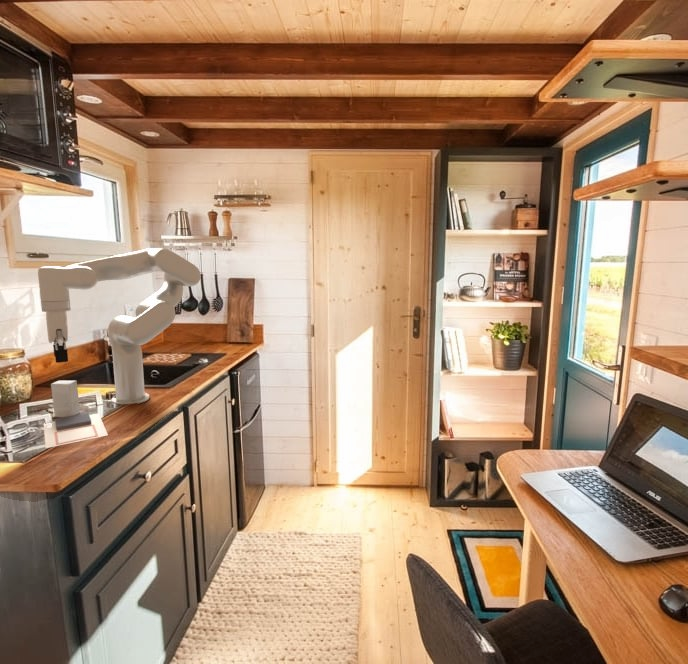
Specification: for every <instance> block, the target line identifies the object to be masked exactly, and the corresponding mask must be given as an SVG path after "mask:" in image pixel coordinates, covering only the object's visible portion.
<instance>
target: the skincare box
mask: <svg viewBox="0 0 688 664" xmlns="http://www.w3.org/2000/svg"><path fill="white" fill-rule="evenodd" d="M77 382H78V381H77V380H57V381H54V382H53V383H51V384H50V387H51V388H50V390H51V396H52V405H53V414H54V418H61V417H67V416H72V415H78V414H81V408H80V398H79V392H78V383H77Z"/></svg>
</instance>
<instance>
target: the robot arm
mask: <svg viewBox="0 0 688 664" xmlns="http://www.w3.org/2000/svg"><path fill="white" fill-rule="evenodd" d="M155 272H161V273H164V274H163V285H162V287H161V288H159V290H158V291H156V292H155V293H153V294H152V295H151V296H149V297H148V298H146V299H145V300H143V301H142V302H140V303H139V304H138V305H137V306H136V309H135V311H134V312H135V313H134V314H135V316H136V317H134V316H131V315H118V316H115V317H114V318H112V320H110V322H109V325H108V327H107V334H108V339H109V342H110V346H111V351H112V352H111V353H112V365H113V376H114V378H113V379H114V387H115V389H114V390H115V391H114V392H115V396H116V398H114V397H115V396H113V397H112V398H111V400H110V401H111V403H112V404H117V405H133V404H138V405H140V404H142V403H144V402H147V401H148V400H149V399H150V394H149V393H147V392H145V379H144V377H145V376H144V366H143V351H142V345H145V344H148V343H149V342H150V341H152V340H153V339H154V338H156V337H157V336H158V335H160V334H161V333H162V332H164V331H165V330H166V329H167V328H169V327H170V326H171V324H173V322H174V320H175V318H176V310H175V307H177V306H178V305H179V304H180V303H181V301H182V299H183V295H184V287H195V286H196V285H197V284H199V282H200V281H201V277H202V276H201V275H202V274H201V272H200V269H199V268H198V267H197V266H196V265H195V264H194V263H192V262H190V261H189V260H187V259H186V258H184V257H182V256H181V255H179V254H178V253H175V252H174V251H173V250H170V249H168V248H166V247H165V248H163V247H162V248H157V247H155V248H153V247H152V248H145V249H142V250H137V251H133V252H127V253H124V254H117V255H113V256H109V257H108V256H107V257H104V258H98V259H94V260H89V261H85V262H83V261H82V262H79V263H73V264H70V265H66V266H65V267H62V266H41V267H39V268H38V269H37V276H38V285H39V296H40V297H39V298H40V306H41V308H40V309H41V312H43V313H45V319H46V329H47V330H46V331H47V339H48V343H49V344H52V343H53V345H52V346H53V354H54V357H55V363H56V364H60V363H67V362H68V361H69V358H68V357H69V355H68V348H67V344H66V343H67V342H68V341H69V336H68V335H69V334H68V333H69V332H68V331H69V330H68V316H67V315H68V314H67V312H68V311H69V312H70V311H71V299H70V290H91V289H92V288H94V287H95V286H96V285H97V284H98V282H104V281H121V280H128V279H132V278H135V277H138V276H143V275H147V274H151V273H155Z"/></svg>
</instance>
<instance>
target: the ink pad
mask: <svg viewBox="0 0 688 664" xmlns="http://www.w3.org/2000/svg"><path fill="white" fill-rule="evenodd" d="M89 415H90V414H89V412H84V413H79V414H77V415H72V416H67V417H54V421H55V423H56V430H57V431H58V430H63V429H69V428H74V427H79V426H84V425H90V424H91V419H90V416H89Z"/></svg>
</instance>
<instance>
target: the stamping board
mask: <svg viewBox="0 0 688 664" xmlns="http://www.w3.org/2000/svg"><path fill="white" fill-rule="evenodd" d="M89 416H90V419H91V424H90V425H84V426H79V427H74V428H69V429H63V430H58V431H57V430H56V423H55V420H54V421H51V422H52V427H51V428H47V427H46V424H45V423H46V422H43V431H44V432H43V434H44V444H45V445H44V446H45V447H44V448H45V449H50V448H54V447H59V446H63V445H68V444H73V443H78V442H83V441H88V440H94V439H97V438H102V437H108V436H109V434H108V431H107V429H106V427H105V425H104V423H103V420H102V418H101V414H100V413H93V414H89Z"/></svg>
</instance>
